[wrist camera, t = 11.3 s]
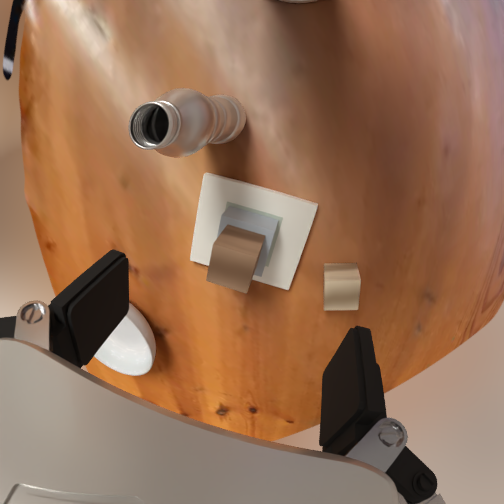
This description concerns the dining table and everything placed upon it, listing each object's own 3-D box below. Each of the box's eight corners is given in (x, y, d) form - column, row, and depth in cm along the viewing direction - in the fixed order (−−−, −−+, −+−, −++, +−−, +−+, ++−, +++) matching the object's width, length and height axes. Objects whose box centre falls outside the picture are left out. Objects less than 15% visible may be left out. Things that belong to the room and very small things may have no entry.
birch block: (323, 263, 43) (324, 280, 38) (356, 262, 42) (360, 280, 37) (323, 291, 45) (323, 310, 41) (354, 290, 44) (357, 309, 39)
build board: (206, 172, 40) (203, 174, 39) (317, 203, 39) (317, 206, 38) (192, 256, 47) (189, 260, 45) (288, 286, 46) (288, 290, 44)
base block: (229, 205, 40) (221, 215, 37) (278, 220, 40) (275, 230, 36) (220, 249, 43) (212, 261, 40) (265, 263, 43) (261, 277, 39)
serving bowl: (129, 266, 50) (109, 286, 44) (184, 350, 57) (171, 374, 51) (72, 289, 57) (54, 306, 51) (121, 357, 64) (108, 376, 58)
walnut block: (227, 224, 37) (213, 243, 32) (265, 235, 37) (257, 257, 31) (220, 257, 39) (206, 280, 34) (255, 268, 39) (246, 293, 34)
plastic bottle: (259, 122, 36) (209, 128, 18) (220, 151, 38) (144, 186, 21) (230, 86, 34) (157, 63, 16) (192, 116, 37) (100, 126, 19)
